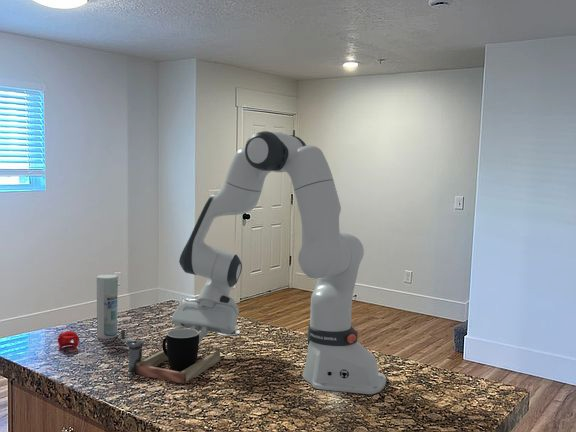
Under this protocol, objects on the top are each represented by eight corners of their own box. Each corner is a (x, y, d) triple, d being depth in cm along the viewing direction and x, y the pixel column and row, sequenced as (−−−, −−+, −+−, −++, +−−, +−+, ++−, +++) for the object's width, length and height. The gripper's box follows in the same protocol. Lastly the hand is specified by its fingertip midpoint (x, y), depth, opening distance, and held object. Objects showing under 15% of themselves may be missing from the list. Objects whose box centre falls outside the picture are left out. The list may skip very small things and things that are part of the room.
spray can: (107, 332, 183) (107, 273, 181) (121, 335, 180) (121, 275, 178) (92, 337, 177) (92, 276, 175) (107, 340, 174) (107, 278, 172)
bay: (220, 360, 158) (220, 350, 158) (183, 383, 141) (184, 372, 140) (176, 353, 164) (176, 343, 163) (136, 374, 146) (136, 363, 146)
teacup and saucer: (230, 328, 193) (230, 317, 193) (246, 333, 188) (246, 321, 187) (212, 333, 186) (212, 321, 186) (227, 338, 181) (228, 326, 181)
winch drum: (147, 368, 151) (147, 331, 150) (136, 373, 146) (137, 335, 145) (126, 364, 153) (127, 327, 152) (115, 369, 149) (116, 331, 148)
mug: (205, 367, 153) (206, 331, 152) (183, 376, 145) (183, 339, 144) (174, 358, 159) (174, 324, 158) (151, 367, 152) (151, 331, 151)
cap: (55, 346, 167) (55, 329, 166) (74, 343, 170) (74, 326, 169) (61, 353, 161) (61, 335, 160) (81, 350, 164) (81, 332, 164)
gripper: (178, 292, 168) (160, 331, 160) (237, 299, 161) (221, 341, 153) (186, 303, 173) (168, 342, 165) (244, 311, 165) (228, 352, 157)
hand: (194, 341), depth 159 cm, fingers closed
